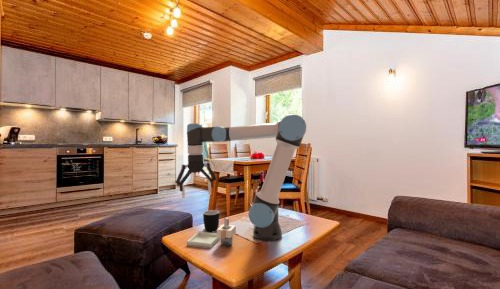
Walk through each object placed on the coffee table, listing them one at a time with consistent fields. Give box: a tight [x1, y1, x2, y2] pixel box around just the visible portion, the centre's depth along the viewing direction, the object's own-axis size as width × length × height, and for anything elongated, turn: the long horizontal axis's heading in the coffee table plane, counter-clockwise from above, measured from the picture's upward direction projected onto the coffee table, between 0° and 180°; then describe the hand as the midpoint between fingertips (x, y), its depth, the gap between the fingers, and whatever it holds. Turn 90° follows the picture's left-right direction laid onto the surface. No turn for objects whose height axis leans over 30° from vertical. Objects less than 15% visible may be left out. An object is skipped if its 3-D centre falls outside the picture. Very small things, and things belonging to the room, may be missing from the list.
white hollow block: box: [216, 223, 237, 239], centre depth 119 cm, size 9×7×3 cm
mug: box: [202, 209, 220, 233], centre depth 141 cm, size 12×9×10 cm
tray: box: [186, 231, 221, 249], centre depth 124 cm, size 13×13×2 cm
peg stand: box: [220, 216, 233, 248], centre depth 120 cm, size 6×6×13 cm
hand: (197, 196), depth 125 cm, fingers open, 13 cm apart
